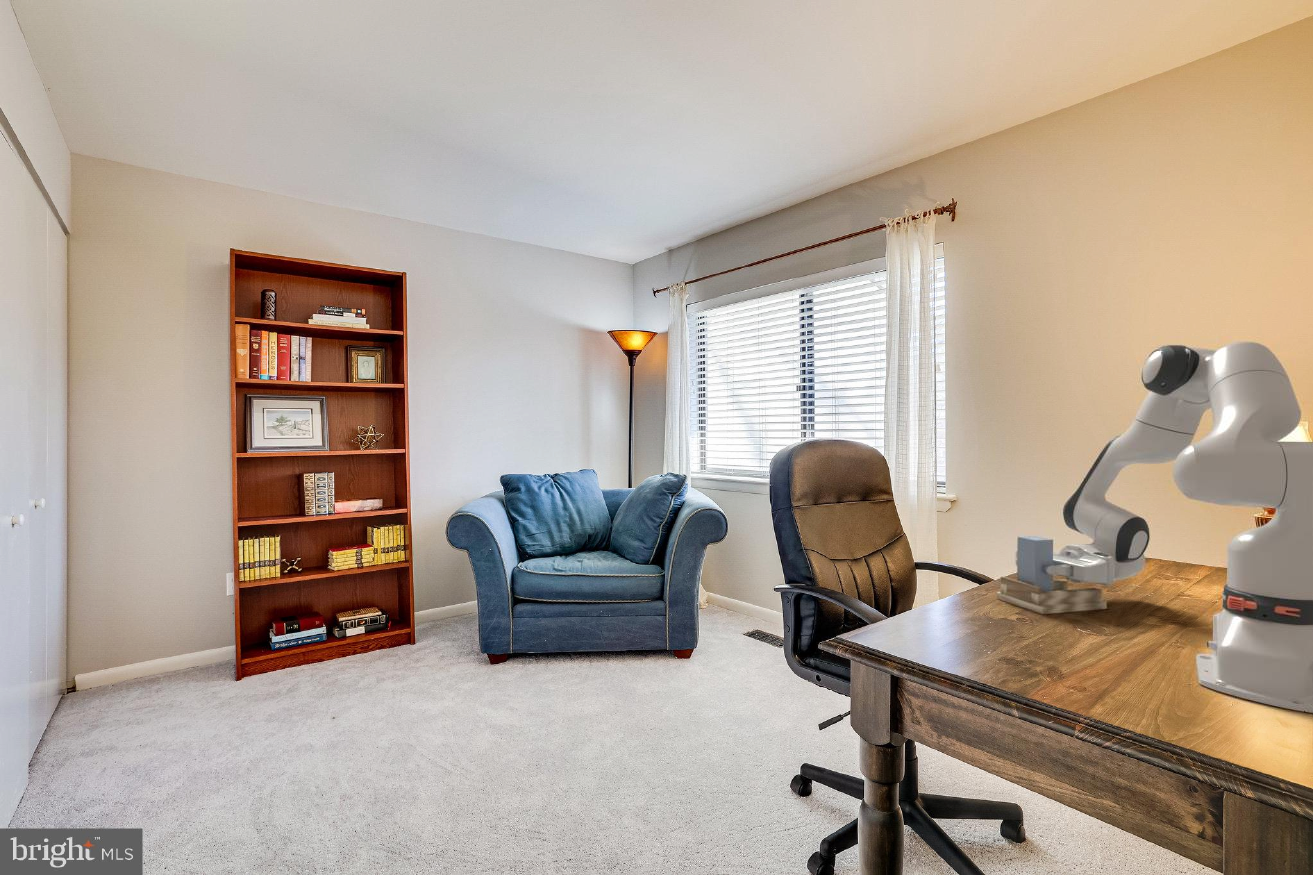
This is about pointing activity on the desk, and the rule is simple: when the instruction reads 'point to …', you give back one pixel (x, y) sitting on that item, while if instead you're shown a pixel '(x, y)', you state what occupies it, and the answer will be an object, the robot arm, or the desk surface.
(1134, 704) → the desk surface
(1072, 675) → the desk surface
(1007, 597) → the shallow wooden tray
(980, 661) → the desk surface
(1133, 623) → the desk surface
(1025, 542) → the slate block
